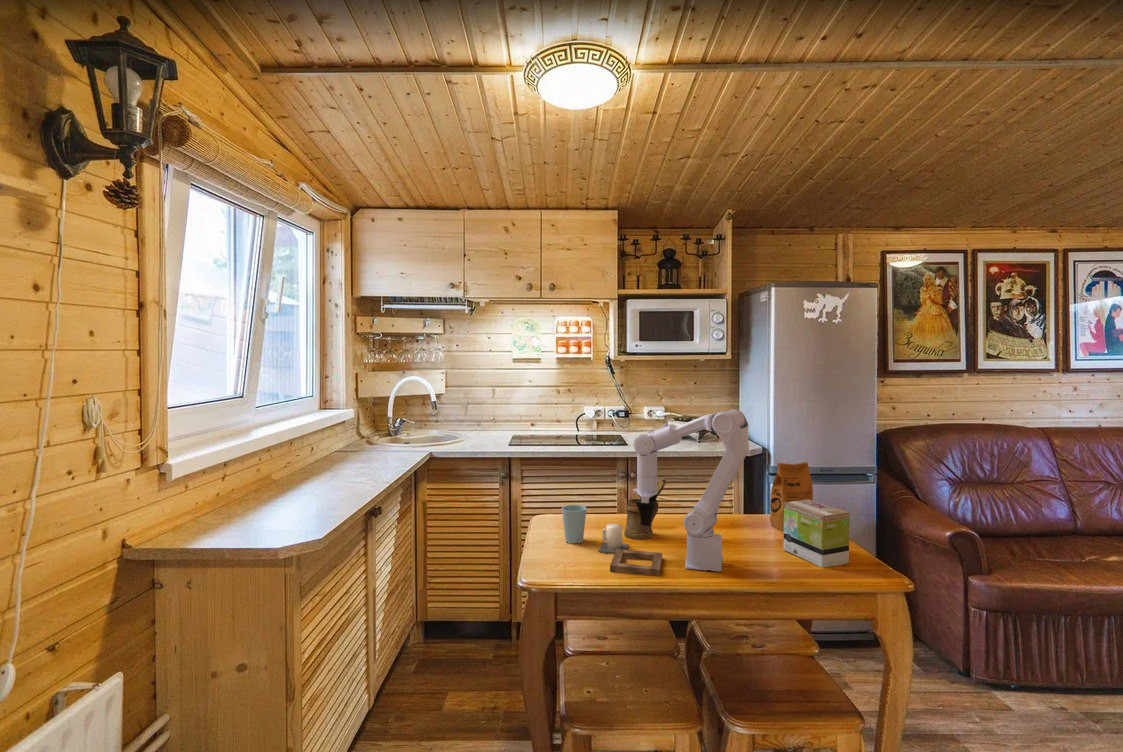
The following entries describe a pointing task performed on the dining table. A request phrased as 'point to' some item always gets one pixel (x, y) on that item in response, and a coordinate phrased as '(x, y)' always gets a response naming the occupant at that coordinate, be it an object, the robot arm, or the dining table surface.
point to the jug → (612, 536)
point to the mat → (604, 549)
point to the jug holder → (636, 569)
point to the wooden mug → (634, 520)
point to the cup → (574, 523)
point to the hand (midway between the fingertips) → (647, 521)
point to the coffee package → (789, 489)
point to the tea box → (816, 532)
